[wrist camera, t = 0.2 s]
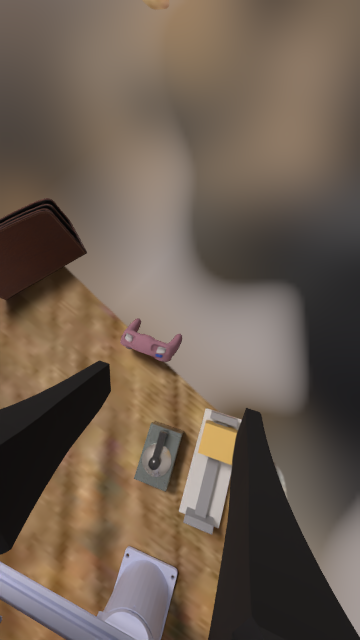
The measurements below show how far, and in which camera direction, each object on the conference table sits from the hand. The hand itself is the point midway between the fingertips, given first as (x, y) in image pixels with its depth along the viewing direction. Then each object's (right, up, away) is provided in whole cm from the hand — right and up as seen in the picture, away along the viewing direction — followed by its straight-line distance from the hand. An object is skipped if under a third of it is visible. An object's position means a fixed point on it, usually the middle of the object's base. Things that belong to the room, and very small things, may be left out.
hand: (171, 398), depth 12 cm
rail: (+5, -18, +26) cm, 32 cm away
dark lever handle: (-3, -15, +24) cm, 29 cm away
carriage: (+6, -14, +26) cm, 30 cm away
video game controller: (-4, 0, +33) cm, 33 cm away
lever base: (-2, -17, +27) cm, 32 cm away
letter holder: (-30, +17, +41) cm, 54 cm away
